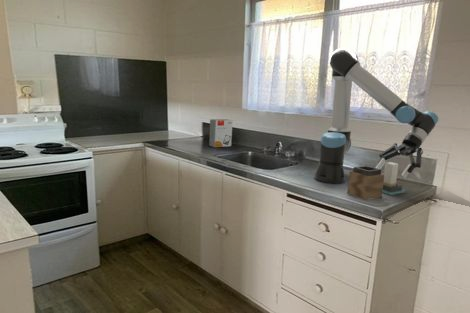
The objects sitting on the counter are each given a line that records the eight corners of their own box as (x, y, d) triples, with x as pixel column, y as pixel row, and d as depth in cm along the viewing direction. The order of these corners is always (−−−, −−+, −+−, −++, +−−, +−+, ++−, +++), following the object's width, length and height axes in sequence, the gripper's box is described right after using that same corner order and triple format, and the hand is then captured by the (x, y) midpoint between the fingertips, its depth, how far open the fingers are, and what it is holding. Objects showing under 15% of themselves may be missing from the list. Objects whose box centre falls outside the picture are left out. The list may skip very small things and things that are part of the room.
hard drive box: (214, 147, 249) (214, 120, 245) (208, 145, 255) (209, 119, 251) (231, 146, 258) (232, 119, 254) (226, 144, 264) (227, 118, 260)
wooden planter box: (347, 192, 152) (350, 166, 149) (362, 190, 157) (365, 165, 154) (365, 199, 143) (369, 172, 141) (381, 196, 148) (385, 170, 146)
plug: (381, 187, 158) (385, 162, 156) (387, 186, 160) (390, 162, 158) (389, 190, 155) (392, 164, 152) (395, 189, 157) (398, 163, 154)
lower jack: (371, 188, 159) (372, 182, 159) (385, 186, 164) (386, 180, 164) (390, 195, 151) (391, 188, 150) (404, 192, 156) (405, 186, 155)
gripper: (443, 149, 151) (417, 185, 146) (393, 140, 172) (370, 172, 168) (438, 138, 147) (412, 174, 143) (388, 130, 168) (363, 162, 164)
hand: (389, 173), depth 155 cm, fingers open, 13 cm apart
